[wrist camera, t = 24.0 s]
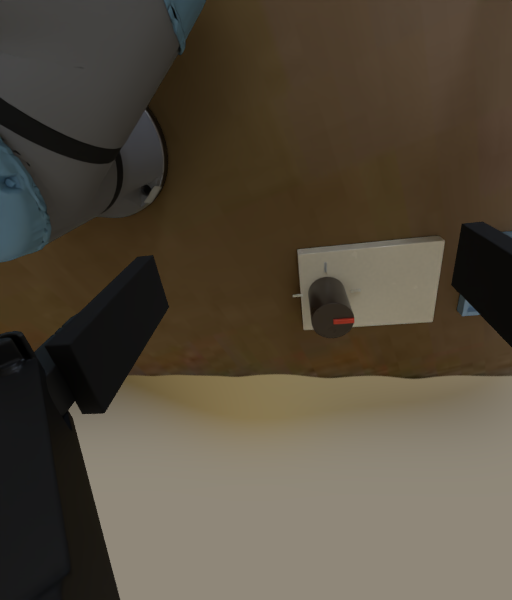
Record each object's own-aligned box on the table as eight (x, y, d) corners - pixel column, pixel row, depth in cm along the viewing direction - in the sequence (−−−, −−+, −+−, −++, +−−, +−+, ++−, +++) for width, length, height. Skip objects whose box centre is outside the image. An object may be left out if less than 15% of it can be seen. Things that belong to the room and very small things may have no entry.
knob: (309, 310, 46) (312, 341, 40) (306, 278, 44) (310, 306, 37) (345, 307, 46) (354, 338, 39) (344, 274, 43) (354, 302, 37)
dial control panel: (295, 323, 50) (296, 331, 48) (289, 249, 44) (289, 255, 42) (427, 314, 47) (433, 322, 46) (438, 235, 42) (445, 240, 40)
